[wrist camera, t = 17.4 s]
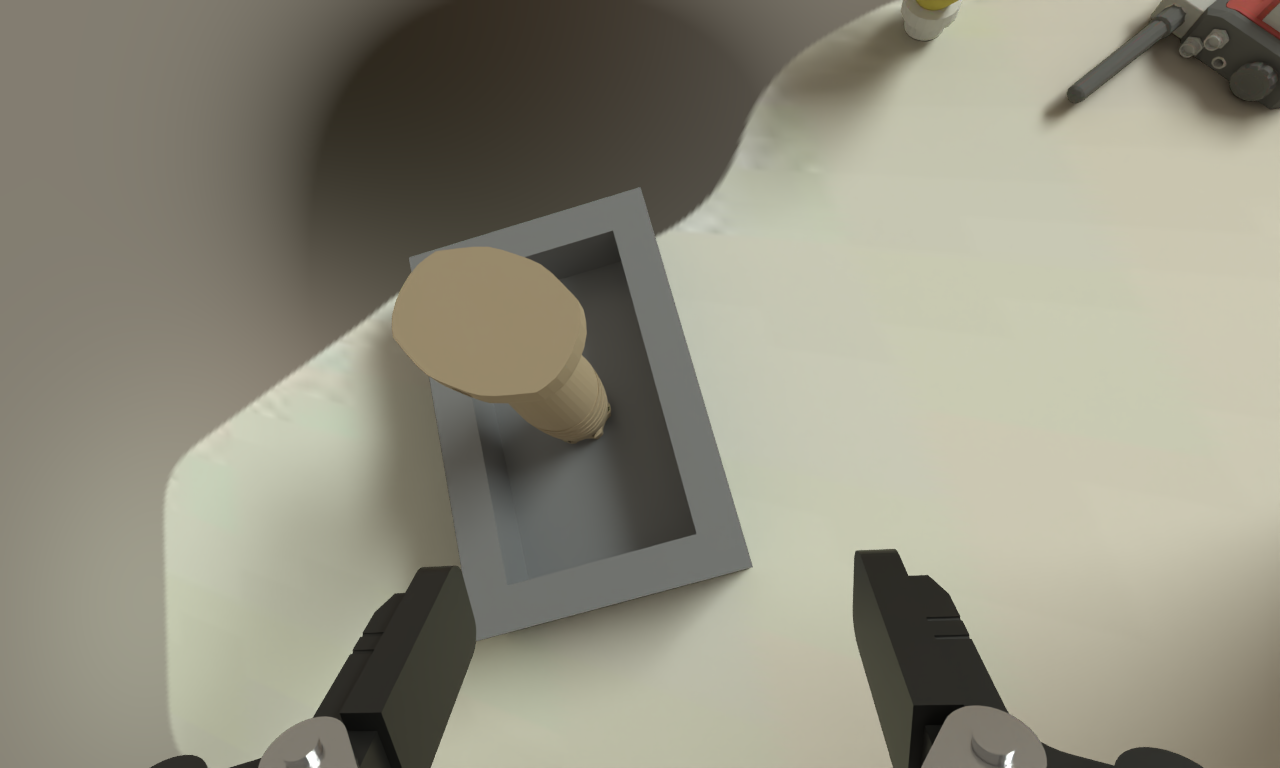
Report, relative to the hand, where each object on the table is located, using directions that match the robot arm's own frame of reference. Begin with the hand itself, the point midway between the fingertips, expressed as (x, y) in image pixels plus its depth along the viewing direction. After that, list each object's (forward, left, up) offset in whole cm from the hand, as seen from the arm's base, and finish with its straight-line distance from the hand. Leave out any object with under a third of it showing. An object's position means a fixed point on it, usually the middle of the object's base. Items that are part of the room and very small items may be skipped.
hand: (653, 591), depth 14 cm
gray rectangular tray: (+10, +4, -21) cm, 24 cm away
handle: (+10, +4, -21) cm, 23 cm away
